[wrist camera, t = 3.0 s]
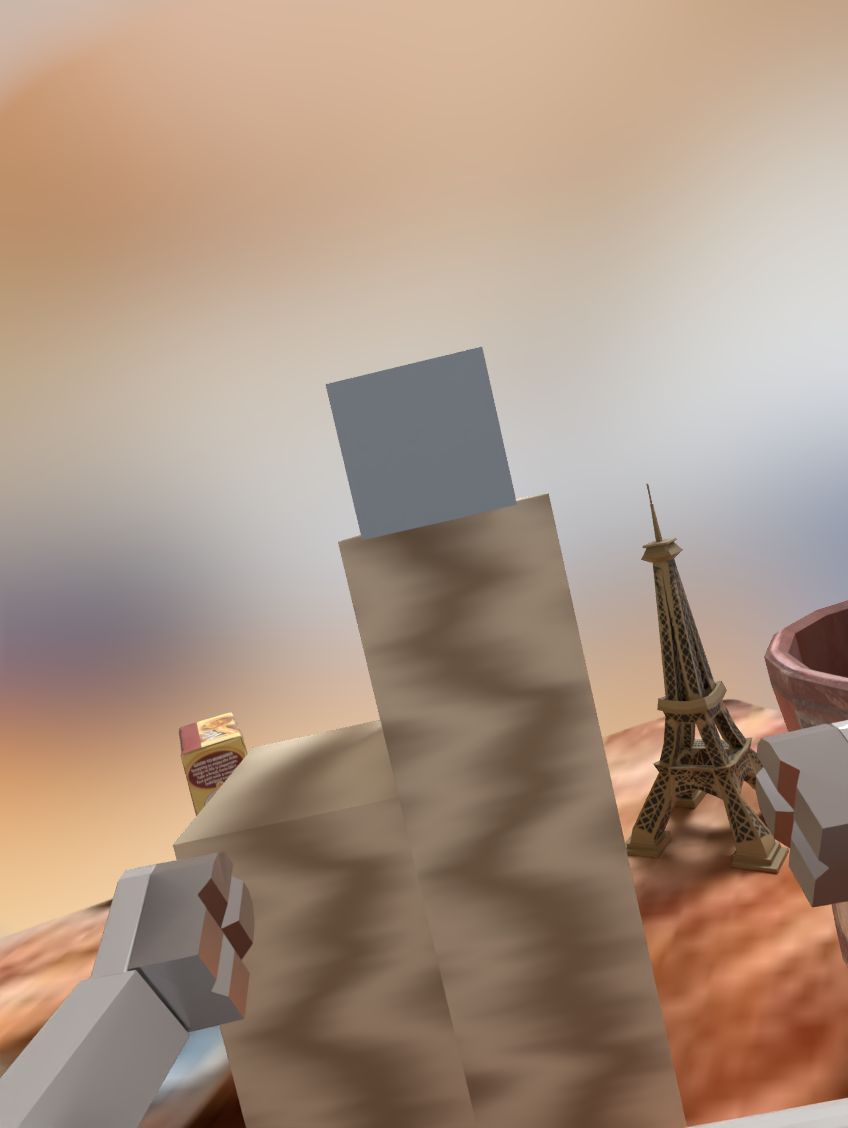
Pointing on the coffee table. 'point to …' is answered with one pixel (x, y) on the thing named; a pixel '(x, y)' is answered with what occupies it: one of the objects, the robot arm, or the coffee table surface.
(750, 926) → the coffee table surface
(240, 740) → the candy box
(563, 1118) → the stand
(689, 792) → the eiffel tower
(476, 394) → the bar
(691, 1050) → the coffee table surface
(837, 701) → the pottery
